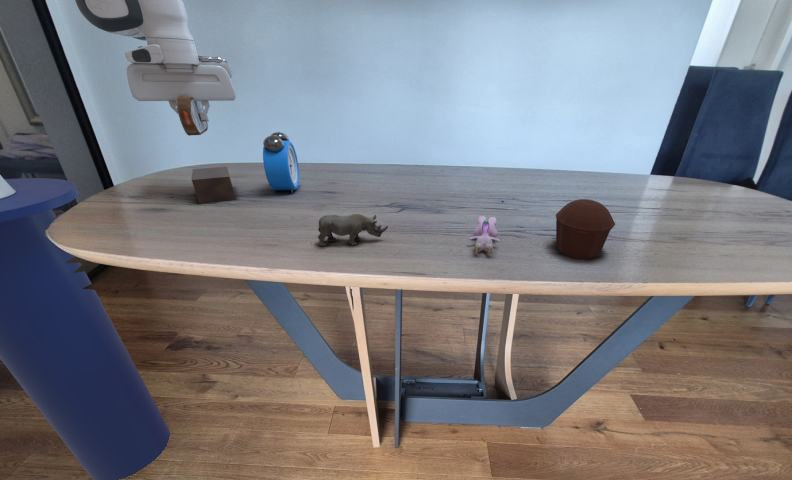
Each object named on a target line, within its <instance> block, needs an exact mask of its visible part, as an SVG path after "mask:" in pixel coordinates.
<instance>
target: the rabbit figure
mask: <svg viewBox="0 0 792 480" xmlns="http://www.w3.org/2000/svg"><path fill="white" fill-rule="evenodd" d="M476 222H477V223H476V224H477V226H476V227H475V229H474V230H473V232H472V233H473V236H471V237H469V238H468V240H469V241H473V240H475V242H474V254H475V256H477V255H480V253H481V252H483V251H484V252H485V253H486V255H488V256H492V253H491V252H492V251H493V248H494V244H493V241H495V242H497V243H500V242H501V240H500V239H499V238H497V236H498V235H499V232H498V230H497V228H496V226H497V223H498V220H497V218H496V216H490V217H488V219H487V217H486V216H484V215H480V216H479V217H478V218H477V219H476Z"/></svg>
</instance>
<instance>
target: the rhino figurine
mask: <svg viewBox="0 0 792 480" xmlns="http://www.w3.org/2000/svg"><path fill="white" fill-rule="evenodd" d="M376 219H377V214H375V215H373V216H372V217H368V216H365V215H363V214H361V213H352V214H350V215H337V214H327V215H323V216H321V217H320V218H319V219H318V232H319V234H318V236H317V239H318V241H319V242H318V245H319V246H320V247H326V246H327V245H328V244H327V242H326V241H325V239H326V238H327V241H328V242H336V241H337V238H336V237H334V235H333V234H335V235H336V236H339V237H346V236H348V235H349V240H348V244H350V245H351V246H356V245H358V243H357V242H358V241H361V240H362V237H361V236H359V234H360V233H362V232H365V231H366V233H368V234H369V235H371V236H373V237H377V238H380V237H382V234H383V233H384V232H386V231H387V229H388V227H389V226H388V225H386V226H385V227H383V228H382V224H380V225H377V223H378V221H377V220H376Z"/></svg>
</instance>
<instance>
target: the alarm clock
mask: <svg viewBox="0 0 792 480" xmlns="http://www.w3.org/2000/svg"><path fill="white" fill-rule="evenodd" d="M262 143H263V147H262V162H263V168H264V173H265V178H266V180H267V182H268V185H269V186H270V188H271V189H272V190H274V191H291V194H293V193H294V191H296V190H297V189H299V185H300V167H299V161H298V155H297V152H296V149H295V146H294V144H293V142H291V141H290V137H289V136H288V135H287V134H285V133H284V132H280V131H276V132H273V133H271V134H270V135H267V136H266V137H265V138H264V140H263V142H262Z"/></svg>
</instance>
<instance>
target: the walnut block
mask: <svg viewBox="0 0 792 480" xmlns="http://www.w3.org/2000/svg"><path fill="white" fill-rule="evenodd" d="M191 171H192V172H191V181H192V182H191V183H192V185H193V188H194V189H193V190H194V192H195V195H196V198H197V201H198V204H199V205H201V204H211V203H219V202H220V203H221V202H227V201H235V200H236V199H237V198H236V195H235V191H234V187H233V184H232V183H233V182H232V180H231V179H232V178H231V176H230V172H229V168H228V166H217V167H205V168H193V169H192V170H191Z"/></svg>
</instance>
